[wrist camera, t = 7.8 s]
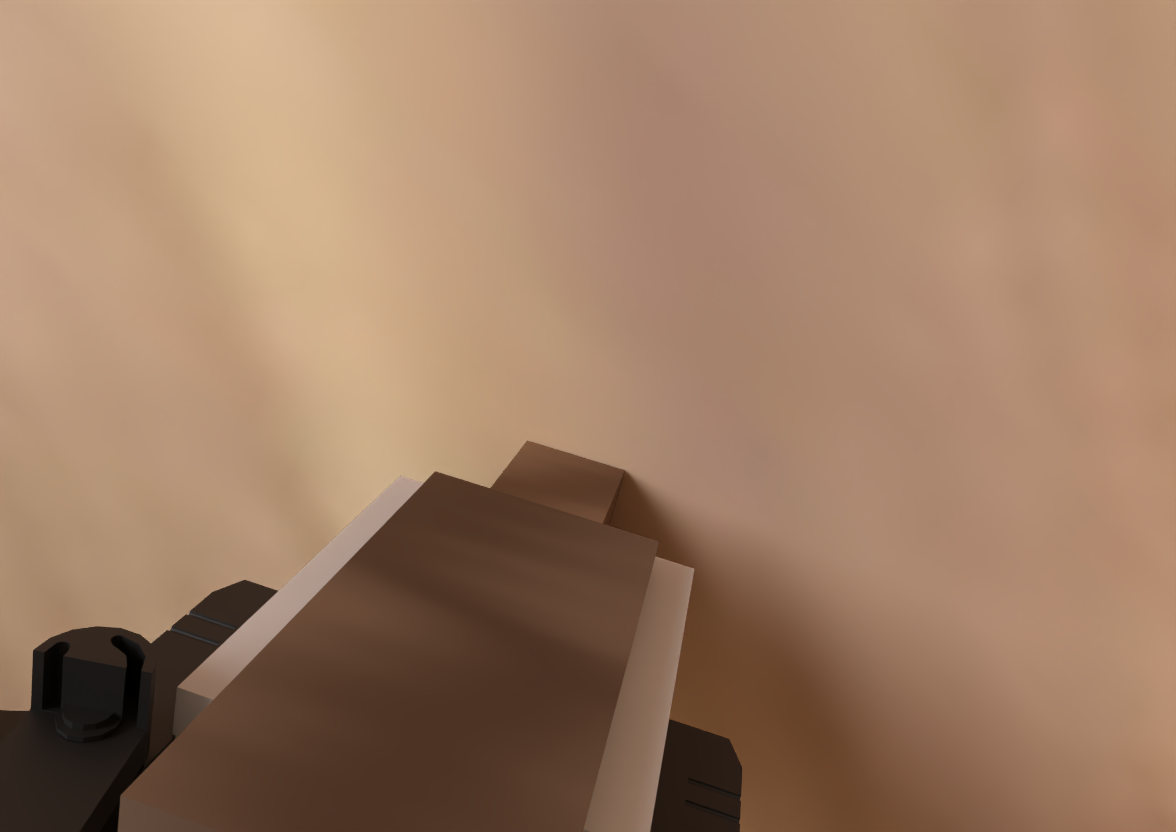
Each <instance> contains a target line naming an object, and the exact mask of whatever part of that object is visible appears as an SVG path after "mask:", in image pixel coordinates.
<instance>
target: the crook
mask: <svg viewBox="0 0 1176 832" xmlns="http://www.w3.org/2000/svg"><path fill="white" fill-rule="evenodd" d="M623 475H624V470H621V469H618V468H614V467H611V466H608V465H605V464H601V463H598V462H595V461H592V460H588V459H585V458H582V457H578V456H575V455H572V454H569V453H565V452H562V451H559V450H555V449H552V448H549V447H546V446H542V445H539V444H536V443H533V442H529V441H527V442H526V443H525V444H524V446H523V447H522V448H521V449H520V451H519V452H518V453H517V455H516V456H515V457H514V459H513V460H512V461H511V462H510V464H509V465H508V466H507V468H506V469H505V470H504V471H503V473H502V474H501V475H500V477H499V478H498V479H497V481H496V482H495V483H494V484H493V486H492V487H491V488H487V487H484V486H480V485H477V484H474V483H471V482H468V481H464V480H461V479H458V478H455V477H452V476H448V475H445V474H442V473H439V472H436V471H435V472H434V473H433V474H432V475H431V476H430V477H429V478H428V479H427V480H426V482H425V483H424V484H423V485H422V486H421V487H420V488H419V489H418V490H417V491H416V492H415V493H414V494H413V495H412V496H411V497H410V498H409V499H408V500H407V501H406V502H405V503H404V504H403V505H402V506H401V507H400V508H399V509H398V510H397V511H396V512H395V513H394V514H393V515H392V517H391V518H390V519H389V520H388V521H387V522H386V523H385V524H384V525H383V526H382V527H381V528H380V529H379V530H378V531H377V532H376V533H375V534H374V535H373V536H372V537H371V538H370V539H369V540H368V541H367V542H366V543H365V544H364V545H363V546H362V547H361V548H360V549H359V550H358V551H357V553H356V554H355V555H354V556H353V557H352V558H351V559H350V560H349V561H348V562H347V563H346V564H345V565H344V566H343V567H342V568H341V569H340V570H339V571H338V572H337V573H336V574H335V575H334V576H333V577H332V578H331V579H330V580H329V581H328V582H327V583H326V584H325V585H324V586H323V588H322V589H321V590H320V591H319V592H318V593H317V594H316V595H315V596H314V597H313V598H312V599H311V600H310V601H309V602H308V603H307V604H306V605H305V606H304V607H303V608H302V609H301V610H300V611H299V612H298V613H297V614H296V615H295V616H294V617H293V618H292V619H291V620H290V621H289V622H288V624H287V625H286V626H285V627H284V628H283V629H282V630H281V631H280V632H279V633H278V634H277V635H276V636H275V637H274V638H273V639H272V640H271V641H270V642H269V643H268V644H267V645H266V646H265V647H264V648H263V649H262V650H261V651H260V652H259V653H258V654H257V655H256V656H255V657H254V659H253V660H252V661H251V662H250V663H249V664H248V665H247V666H246V667H245V668H244V669H243V670H242V671H241V672H240V673H239V674H238V675H237V676H236V677H235V678H234V679H233V680H232V681H231V682H230V683H229V684H228V685H227V686H226V687H225V688H224V689H223V690H222V691H221V692H220V693H219V695H218V696H217V697H216V698H215V699H214V700H213V701H212V702H211V703H210V704H209V705H208V706H207V707H206V708H205V709H204V710H203V711H202V712H201V713H200V714H199V715H198V716H197V717H196V718H195V719H194V720H193V721H192V722H191V723H190V724H189V725H188V726H187V727H186V728H185V730H184V731H183V732H182V733H181V734H180V735H179V736H178V737H177V738H176V739H175V740H174V741H173V742H172V743H171V744H170V745H169V746H168V747H167V748H166V749H165V750H164V751H163V752H162V753H161V754H160V755H159V756H158V757H157V758H156V759H155V760H154V761H153V762H152V763H151V765H150V766H149V767H148V768H147V769H146V770H145V771H144V772H143V773H142V774H141V775H140V776H139V777H138V778H137V779H136V780H135V781H134V782H133V783H132V784H131V785H130V786H129V787H128V788H127V789H126V790H125V791H124V792H123V793H122V794H121V796H120V808H119V821H118V832H583V829H584V825H585V822H586V818H587V814H588V810H589V807H590V803H591V799H592V795H593V791H594V788H595V784H596V780H597V776H598V772H599V769H600V765H601V761H602V757H603V753H604V750H605V746H606V742H607V738H608V735H609V731H610V727H611V723H612V719H613V716H614V712H615V708H616V704H617V700H618V697H619V693H620V689H621V685H622V682H623V678H624V674H625V670H626V666H627V663H628V659H629V655H630V651H631V647H632V644H633V640H634V636H635V632H636V629H637V625H638V621H639V617H640V613H641V610H642V606H643V602H644V598H645V594H646V591H647V587H648V583H649V579H650V576H651V572H652V568H653V564H654V560H655V557H656V553H657V549H658V545H659V541H657V540H653V539H650V538H647V537H644V536H641V535H637V534H634V533H631V532H628V531H625V530H621V529H618V528H615V527H612V526H609V524H610V521H611V517H612V514H613V510H614V506H615V503H616V499H617V496H618V492H619V489H620V485H621V482H622V478H623Z"/></svg>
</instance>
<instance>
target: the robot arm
mask: <svg viewBox="0 0 1176 832" xmlns="http://www.w3.org/2000/svg"><path fill="white" fill-rule="evenodd" d="M423 484H424V483H421V482H418V481H415V480H412V479H409V478H406V477H402V476H399V477H398V478H397V479H396V480H395V481H394V482H393V483H392V484H391V485H390V486H389V487H388V488H387V489H386V490H385V491H384V492H382V493H381V494H380V495H379V496H378V497H377V498H376V499H375V500H374V501H373V502H372V503H371V504H370V505H369V506H368V507H367V508H366V509H365V510H363V511H362V512H361V513H360V514H359V515H358V516H357V517H356V518H355V519H354V520H353V521H352V522H351V523H350V524H349V525H348V526H347V527H346V528H344V529H343V530H342V531H341V532H340V533H339V534H338V535H337V536H336V537H335V538H334V539H333V540H332V541H331V542H330V543H329V544H328V545H327V546H325V547H324V548H323V549H322V550H321V551H320V552H319V553H318V554H317V555H316V556H315V557H314V558H313V559H312V560H311V561H310V562H309V563H308V564H306V565H305V566H304V567H303V568H302V569H301V570H300V571H299V572H298V573H297V574H296V575H295V576H294V577H293V578H292V579H291V580H290V581H289V582H287V583H286V584H285V585H284V586H283V587H282V588H281V589H280V590H279V591H277V590H274V589H271V588H268V587H265V586H262V585H259V584H256V583H253V582H250V581H247V580H243V581H240V582H238V583H235V584H232V585H230V586H227V587H225V588H222V589H219V590H217V591H214V592H212V593H211V594H210V595H209V596H207V597H206V598H205V599H204V600H203V601H202V602H200V603H199V604H198V605H197V606H196V607H194V608H193V609H192V610H191V611H190V613H189V615H185V616H184V617H182V618H181V619H180V620H179V621H178V622H176V623H175V624H174V625H173V626H172V628H171V630H170V631H168V630H167V631H166V632H164V633H163V634H162V635H161V636H160V637H159V638H157V639H156V640H155V641H154V642H153V643H150V642H148V641H147V640H146V639H145V638H144V637H142V636H141V635H139V634H136V633H133V632H130V631H128V630H125V629H122V628H111V627H98V626H97V627H89V628H82V629H74V630H71V631H68V632H65V633H62V634H60V635H57V636H54V637H51V638H49V639H48V640H47V641H45V642H44V643H42V644H41V645H40V646H38V647H37V648H35V649H34V650H33V668H32V697H31V709H30V710H29V711H5V710H0V832H118V821H119V808H120V796H121V794H122V793H123V792H124V791H125V790H126V789H127V788H128V787H129V786H130V785H131V784H132V783H133V782H134V781H135V780H136V779H137V778H138V777H139V776H140V775H141V774H142V773H143V772H144V771H145V770H146V769H147V768H148V767H149V766H150V765H151V763H152V762H153V761H154V760H155V759H156V758H157V757H158V756H159V755H160V754H161V753H162V752H163V751H164V750H165V749H166V748H167V747H168V746H169V745H170V744H171V743H172V742H173V741H174V740H175V739H176V738H177V737H178V736H179V735H180V734H181V733H182V732H183V731H184V730H185V728H186V727H187V726H188V725H189V724H190V723H191V722H192V721H193V720H194V719H195V718H196V717H197V716H198V715H199V714H200V713H201V712H202V711H203V710H204V709H205V708H206V707H207V706H208V705H209V704H210V703H211V702H212V701H213V700H214V699H215V698H216V697H217V696H218V695H219V693H220V692H221V691H222V690H223V689H224V688H225V687H226V686H227V685H228V684H229V683H230V682H231V681H232V680H233V679H234V678H235V677H236V676H237V675H238V674H239V673H240V672H241V671H242V670H243V669H244V668H245V667H246V666H247V665H248V664H249V663H250V662H251V661H252V660H253V659H254V657H255V656H256V655H257V654H258V653H259V652H260V651H261V650H262V649H263V648H264V647H265V646H266V645H267V644H268V643H269V642H270V641H271V640H272V639H273V638H274V637H275V636H276V635H277V634H278V633H279V632H280V631H281V630H282V629H283V628H284V627H285V626H286V625H287V624H288V622H289V621H290V620H291V619H292V618H293V617H294V616H295V615H296V614H297V613H298V612H299V611H300V610H301V609H302V608H303V607H304V606H305V605H306V604H307V603H308V602H309V601H310V600H311V599H312V598H313V597H314V596H315V595H316V594H317V593H318V592H319V591H320V590H321V589H322V588H323V586H324V585H325V584H326V583H327V582H328V581H329V580H330V579H331V578H332V577H333V576H334V575H335V574H336V573H337V572H338V571H339V570H340V569H341V568H342V567H343V566H344V565H345V564H346V563H347V562H348V561H349V560H350V559H351V558H352V557H353V556H354V555H355V554H356V553H357V551H358V550H359V549H360V548H361V547H362V546H363V545H364V544H365V543H366V542H367V541H368V540H369V539H370V538H371V537H372V536H373V535H374V534H375V533H376V532H377V531H378V530H379V529H380V528H381V527H382V526H383V525H384V524H385V523H386V522H387V521H388V520H389V519H390V518H391V517H392V515H393V514H394V513H395V512H396V511H397V510H398V509H399V508H400V507H401V506H402V505H403V504H404V503H405V502H406V501H407V500H408V499H409V498H410V497H411V496H412V495H413V494H414V493H415V492H416V491H417V490H418V489H419V488H420V487H421V486H422V485H423ZM693 574H694V568H691V567H687V566H684V565H681V564H678V563H675V562H672V561H668V560H665V559H662V558H659V557H655V560H654V564H653V568H652V572H651V576H650V579H649V583H648V587H647V591H646V594H645V598H644V602H643V606H642V610H641V613H640V617H639V621H638V625H637V629H636V632H635V636H634V640H633V644H632V647H631V651H630V655H629V659H628V663H627V666H626V670H625V674H624V678H623V682H622V685H621V689H620V693H619V697H618V700H617V704H616V708H615V712H614V716H613V719H612V723H611V727H610V731H609V735H608V738H607V742H606V746H605V750H604V753H603V757H602V761H601V765H600V769H599V772H598V776H597V780H596V784H595V788H594V791H593V795H592V799H591V803H590V807H589V810H588V814H587V818H586V822H585V825H584V829H583V832H739V830H740V824H739V820H740V807H741V801H740V797H741V783H742V766H741V764H740V762H739V760H738V758H737V755H736V753H735V751H734V749H733V746H732V744H731V742H730V740H729V739H727V738H724V737H721V736H718V735H715V734H712V733H709V732H706V731H703V730H700V729H697V728H694V727H691V726H688V725H685V724H682V723H679V722H676V721H673V720H670V719H669V717H670V711H671V705H672V699H673V693H674V687H675V681H676V675H677V669H678V663H679V657H680V652H681V646H682V640H683V634H684V628H685V622H686V616H687V610H688V604H689V598H690V592H691V586H692V580H693Z"/></svg>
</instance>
